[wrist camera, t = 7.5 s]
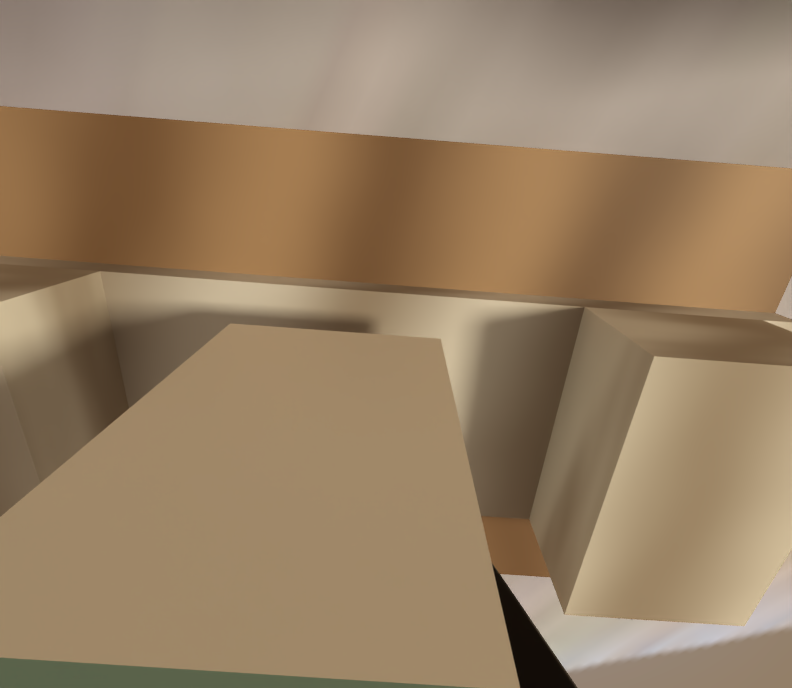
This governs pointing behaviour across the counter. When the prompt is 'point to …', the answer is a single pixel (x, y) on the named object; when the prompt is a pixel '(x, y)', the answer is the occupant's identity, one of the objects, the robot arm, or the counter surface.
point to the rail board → (437, 323)
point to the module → (262, 531)
